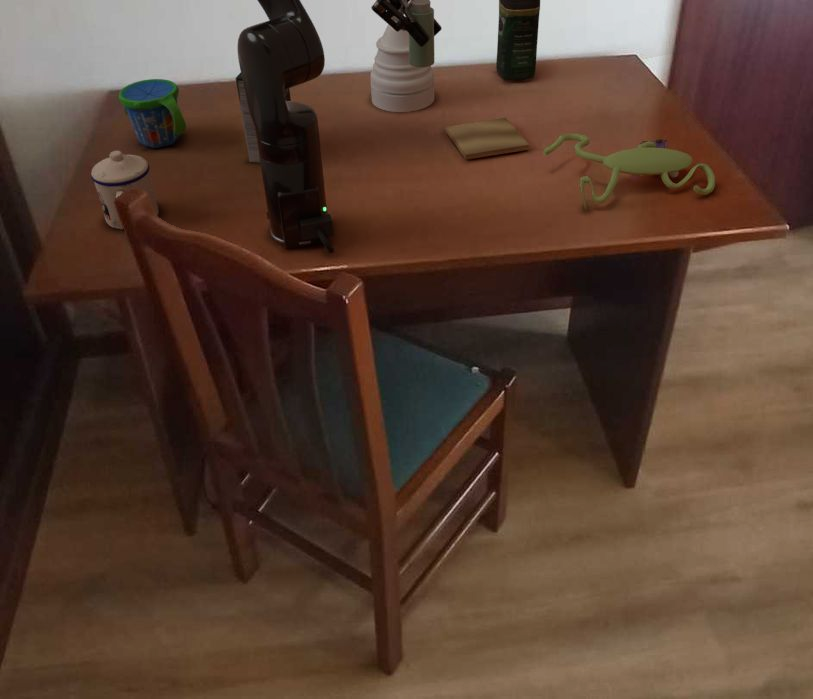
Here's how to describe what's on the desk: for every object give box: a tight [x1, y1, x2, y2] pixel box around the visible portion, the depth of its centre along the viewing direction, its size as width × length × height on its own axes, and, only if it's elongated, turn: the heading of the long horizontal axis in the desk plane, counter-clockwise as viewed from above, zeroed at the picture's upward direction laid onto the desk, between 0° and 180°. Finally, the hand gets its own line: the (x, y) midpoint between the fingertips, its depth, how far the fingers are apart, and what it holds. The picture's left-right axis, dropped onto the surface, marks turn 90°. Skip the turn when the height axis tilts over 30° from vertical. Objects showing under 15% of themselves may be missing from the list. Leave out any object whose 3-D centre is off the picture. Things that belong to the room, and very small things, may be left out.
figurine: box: [543, 133, 716, 211], centre depth 147 cm, size 18×27×6 cm
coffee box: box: [235, 72, 292, 164], centre depth 155 cm, size 9×6×16 cm
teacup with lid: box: [90, 150, 159, 231], centre depth 139 cm, size 12×9×12 cm
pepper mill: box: [408, 0, 435, 67], centre depth 148 cm, size 4×4×10 cm
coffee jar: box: [495, 0, 541, 83], centre depth 179 cm, size 10×8×19 cm
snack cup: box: [118, 78, 187, 149], centre depth 163 cm, size 16×10×10 cm
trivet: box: [445, 117, 530, 160], centre depth 160 cm, size 12×12×1 cm
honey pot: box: [369, 18, 435, 113], centre depth 171 cm, size 13×13×18 cm
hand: (431, 37), depth 148 cm, fingers closed on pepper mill, 4 cm apart
